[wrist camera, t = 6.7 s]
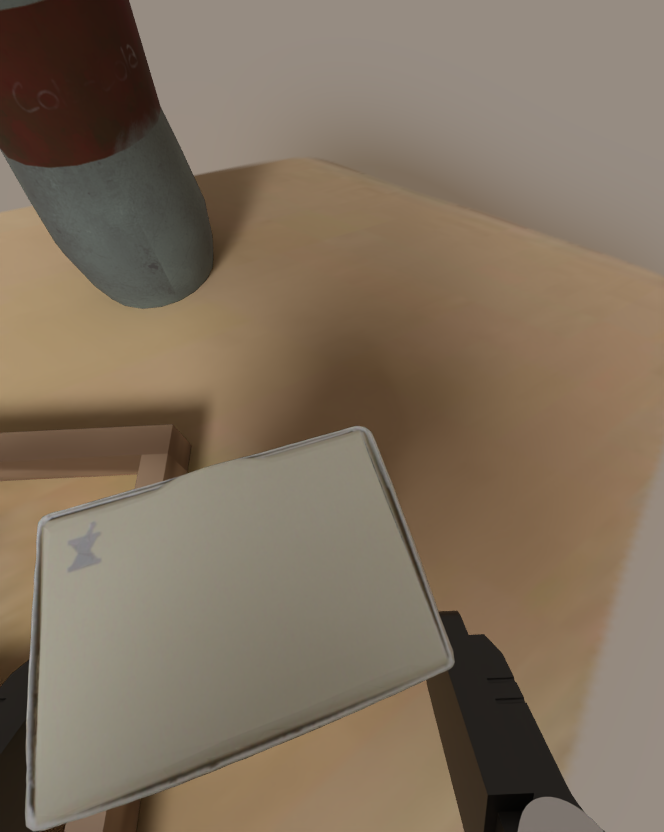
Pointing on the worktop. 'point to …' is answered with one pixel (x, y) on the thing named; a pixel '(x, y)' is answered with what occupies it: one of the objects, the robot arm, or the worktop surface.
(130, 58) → the bottle
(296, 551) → the skincare box
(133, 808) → the slot holder
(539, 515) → the worktop surface
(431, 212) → the worktop surface
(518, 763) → the robot arm
